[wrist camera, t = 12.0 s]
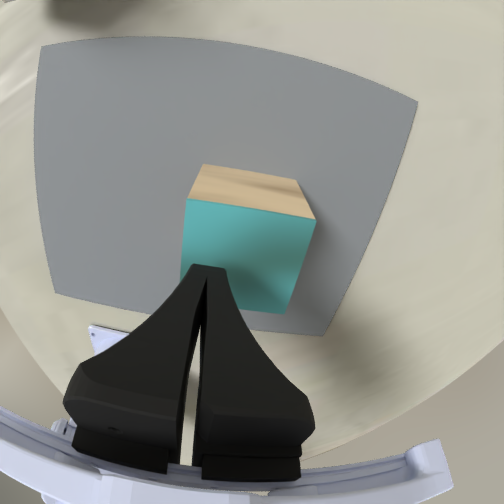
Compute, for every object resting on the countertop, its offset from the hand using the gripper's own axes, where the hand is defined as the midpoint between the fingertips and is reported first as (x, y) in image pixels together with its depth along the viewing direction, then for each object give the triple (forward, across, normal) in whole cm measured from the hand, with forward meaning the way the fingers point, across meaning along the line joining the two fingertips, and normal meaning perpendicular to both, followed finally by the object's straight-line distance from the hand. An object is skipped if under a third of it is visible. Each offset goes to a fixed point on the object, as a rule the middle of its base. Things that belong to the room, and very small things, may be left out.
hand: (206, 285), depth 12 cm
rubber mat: (+8, +2, 0) cm, 8 cm away
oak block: (+2, -1, 0) cm, 2 cm away
